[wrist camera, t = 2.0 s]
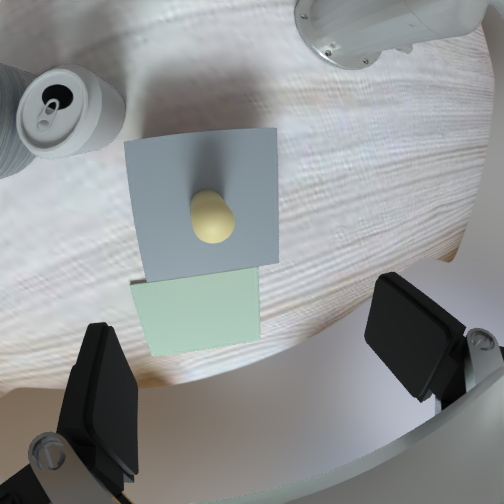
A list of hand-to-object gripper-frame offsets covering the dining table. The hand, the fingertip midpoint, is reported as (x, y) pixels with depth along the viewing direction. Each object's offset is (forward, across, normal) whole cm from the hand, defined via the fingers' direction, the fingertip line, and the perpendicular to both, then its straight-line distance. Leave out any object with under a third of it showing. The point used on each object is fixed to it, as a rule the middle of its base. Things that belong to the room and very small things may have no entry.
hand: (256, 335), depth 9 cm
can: (+24, +11, -10) cm, 28 cm away
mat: (+24, +2, +16) cm, 29 cm away
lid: (+18, 0, 0) cm, 18 cm away
